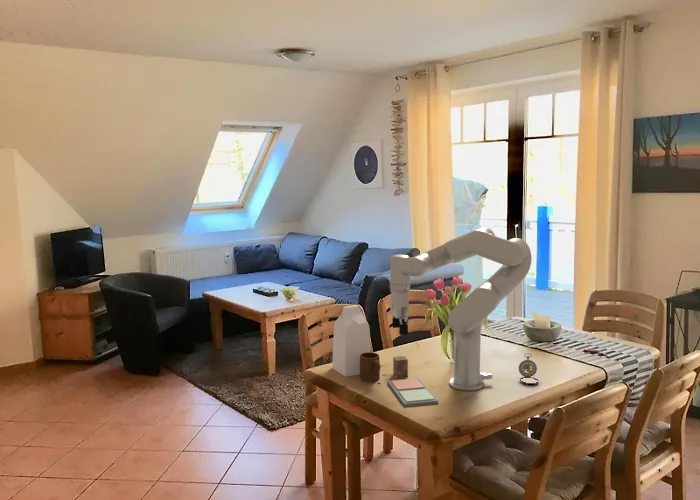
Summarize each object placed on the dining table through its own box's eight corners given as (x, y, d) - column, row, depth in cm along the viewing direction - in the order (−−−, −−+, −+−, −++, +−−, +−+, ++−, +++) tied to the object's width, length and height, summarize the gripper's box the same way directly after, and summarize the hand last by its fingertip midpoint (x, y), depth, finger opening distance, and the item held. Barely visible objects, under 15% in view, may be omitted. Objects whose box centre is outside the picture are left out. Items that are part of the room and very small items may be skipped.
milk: (358, 363, 244) (357, 301, 240) (372, 371, 234) (371, 307, 230) (332, 367, 239) (331, 305, 235) (345, 376, 229) (344, 311, 225)
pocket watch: (528, 387, 215) (529, 360, 214) (512, 379, 223) (513, 354, 221) (545, 383, 219) (546, 357, 218) (528, 376, 227) (529, 350, 225)
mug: (388, 384, 220) (388, 360, 218) (369, 387, 217) (369, 363, 215) (374, 374, 231) (374, 351, 229) (356, 377, 228) (356, 353, 226)
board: (418, 380, 223) (418, 377, 223) (438, 403, 202) (438, 399, 202) (387, 383, 221) (387, 379, 221) (404, 406, 199) (404, 402, 199)
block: (404, 373, 232) (404, 356, 231) (407, 377, 227) (407, 359, 226) (393, 374, 231) (393, 356, 230) (396, 378, 226) (396, 360, 225)
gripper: (384, 283, 232) (384, 325, 234) (396, 292, 215) (396, 338, 217) (403, 282, 233) (403, 324, 236) (416, 291, 216) (416, 336, 219)
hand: (400, 330), depth 227 cm, fingers open, 9 cm apart
